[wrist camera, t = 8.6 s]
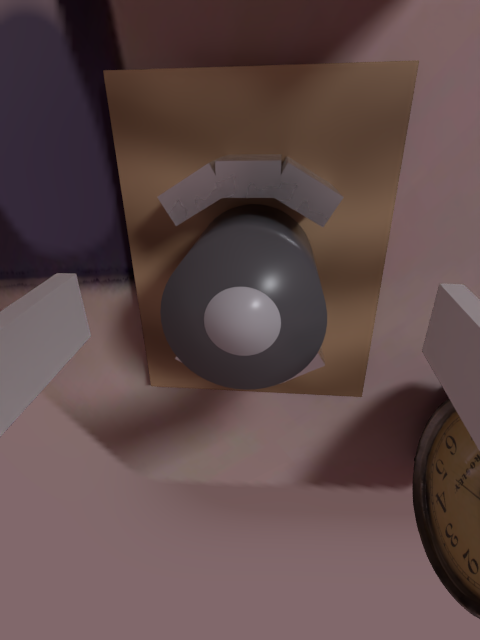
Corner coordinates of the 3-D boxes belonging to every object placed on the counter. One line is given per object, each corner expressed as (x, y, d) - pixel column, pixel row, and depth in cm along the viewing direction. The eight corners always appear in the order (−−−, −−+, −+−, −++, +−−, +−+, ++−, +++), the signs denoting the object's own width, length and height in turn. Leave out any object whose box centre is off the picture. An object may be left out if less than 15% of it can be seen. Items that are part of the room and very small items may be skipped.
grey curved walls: (177, 155, 18) (152, 161, 15) (334, 153, 18) (347, 160, 14) (193, 342, 23) (177, 380, 20) (316, 347, 23) (322, 387, 19)
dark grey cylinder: (190, 205, 20) (148, 242, 13) (316, 202, 19) (333, 238, 13) (201, 316, 22) (171, 388, 16) (310, 316, 22) (322, 392, 16)
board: (111, 73, 18) (103, 70, 17) (411, 64, 17) (419, 60, 16) (155, 377, 26) (151, 386, 25) (358, 387, 25) (361, 397, 24)
